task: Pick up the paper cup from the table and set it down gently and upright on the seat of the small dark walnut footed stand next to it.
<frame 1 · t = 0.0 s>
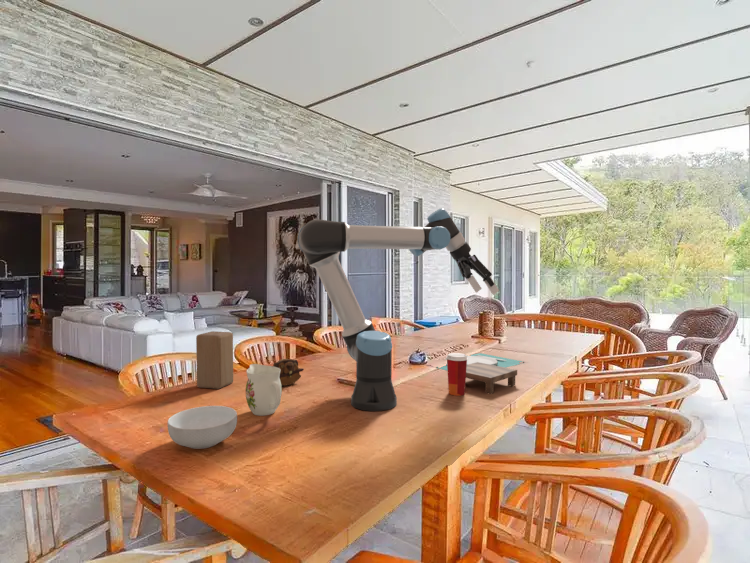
hand: (487, 291, 168), 36 cm above the table, tool tilted 35°, fingers open, 13 cm apart
place mat: (475, 365, 206), on the table
paper cup: (456, 394, 157), on the table
block: (215, 385, 167), on the table
walnut stand: (483, 384, 169), on the table
cereal bowl: (203, 443, 113), on the table
pitcher: (265, 413, 136), on the table
wooden carving: (286, 386, 167), on the table
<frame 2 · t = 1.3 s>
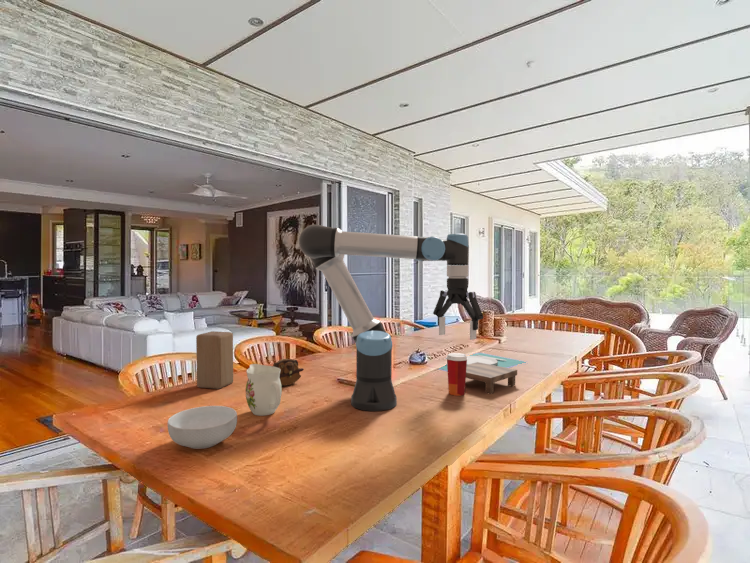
hand: (457, 337, 156), 20 cm above the table, tool pointing down, fingers open, 13 cm apart
nothing on the table moved.
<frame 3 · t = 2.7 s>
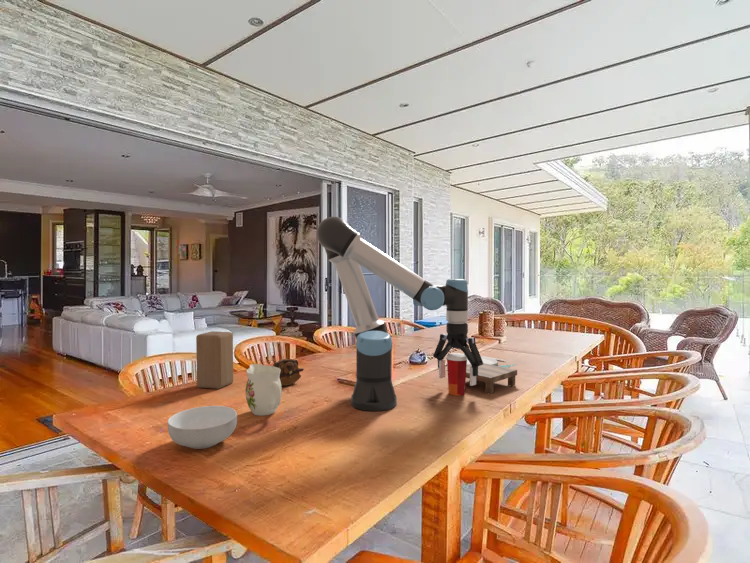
hand: (457, 381, 157), 4 cm above the table, tool pointing down, fingers open, 13 cm apart
nothing on the table moved.
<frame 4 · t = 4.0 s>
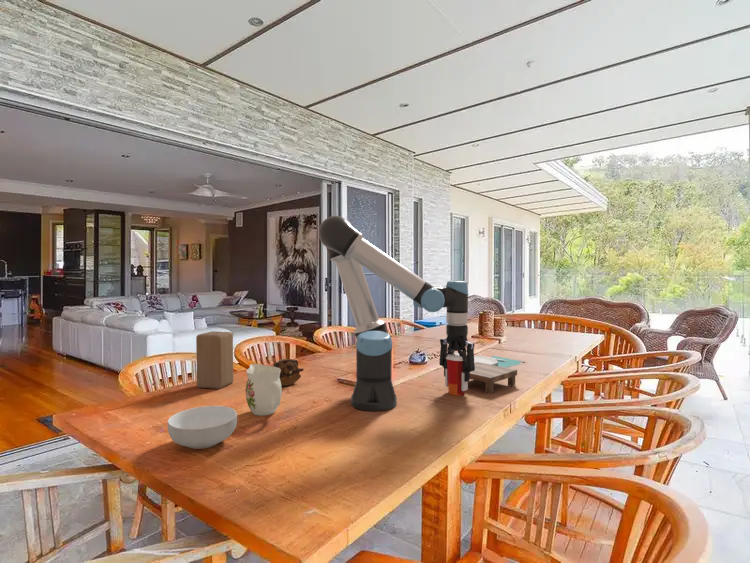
hand: (456, 388, 157), 2 cm above the table, tool pointing down, fingers closed on paper cup, 6 cm apart
paper cup: (456, 394, 157), on the table, touching gripper
everything else where it was.
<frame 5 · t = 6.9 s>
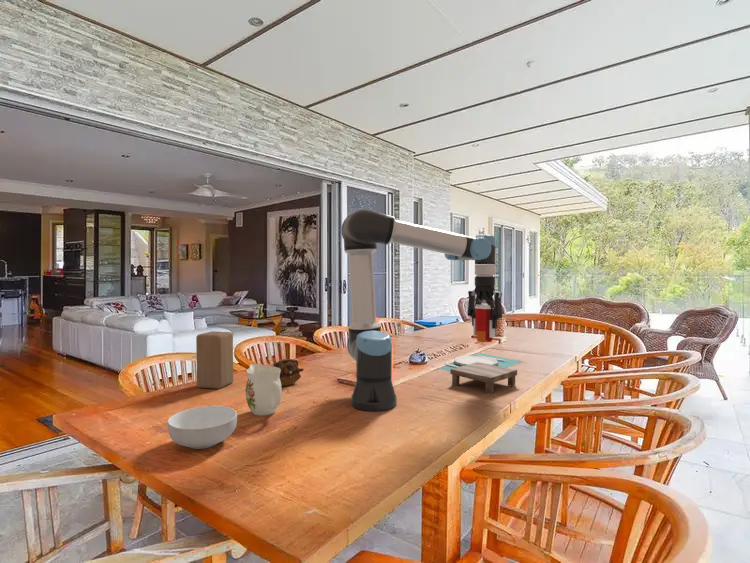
hand: (484, 335, 168), 19 cm above the table, tool pointing down, fingers closed on paper cup, 6 cm apart
paper cup: (484, 341, 168), point 17 cm above the table, touching gripper
everything else where it was.
when the fingers open (9 cm above the table, at t = 9.8 s): paper cup moves 2 cm, point 7 cm above the table.
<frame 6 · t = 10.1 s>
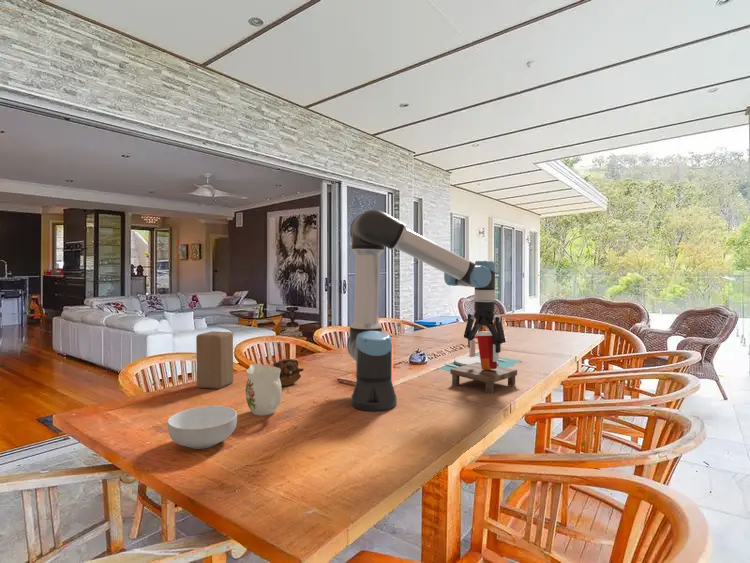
hand: (483, 358, 168), 10 cm above the table, tool pointing down, fingers open, 10 cm apart
paper cup: (489, 368, 166), point 7 cm above the table, touching gripper
everything else where it was.
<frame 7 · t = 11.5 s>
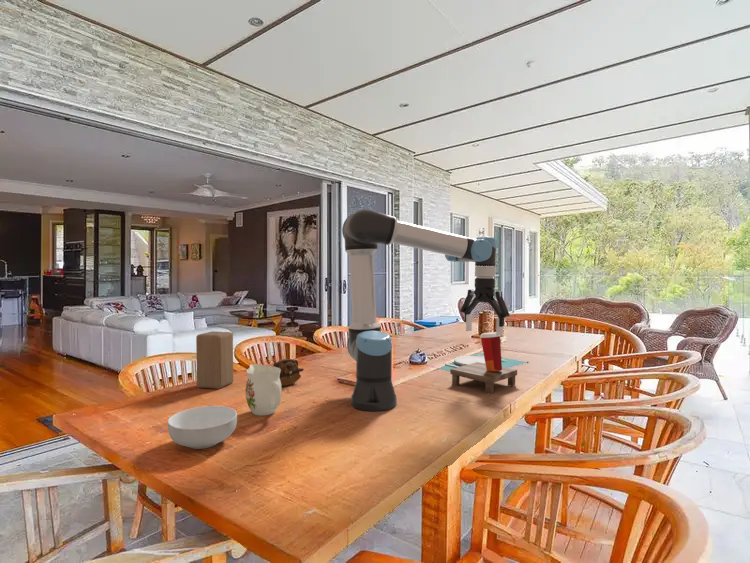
hand: (483, 333, 168), 20 cm above the table, tool pointing down, fingers open, 13 cm apart
paper cup: (494, 370, 165), point 6 cm above the table, touching gripper, walnut stand
everything else where it was.
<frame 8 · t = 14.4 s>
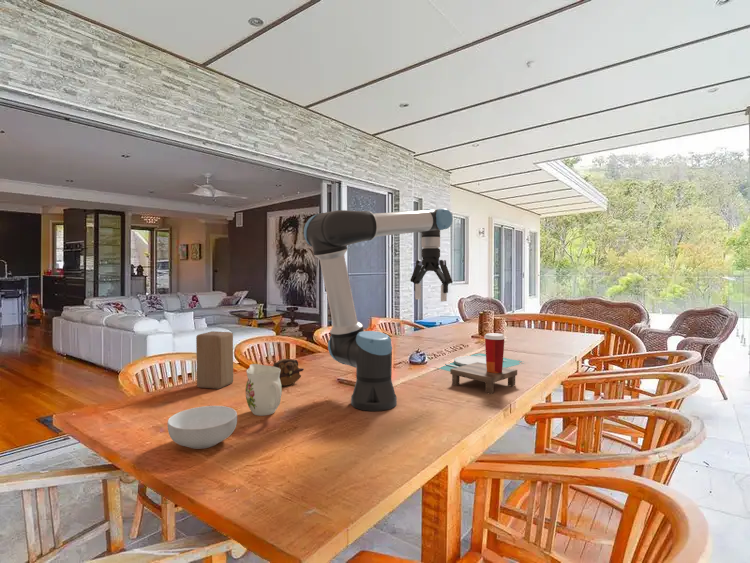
hand: (430, 300, 178), 32 cm above the table, tool pointing down, fingers open, 13 cm apart
paper cup: (494, 371, 165), point 6 cm above the table, touching walnut stand
everything else where it was.
at the end: paper cup inside the target area on the walnut stand (4.4 cm from its centre), point 5.8 cm above the walnut stand's base; paper cup tilted 0°; paper cup touching walnut stand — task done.
